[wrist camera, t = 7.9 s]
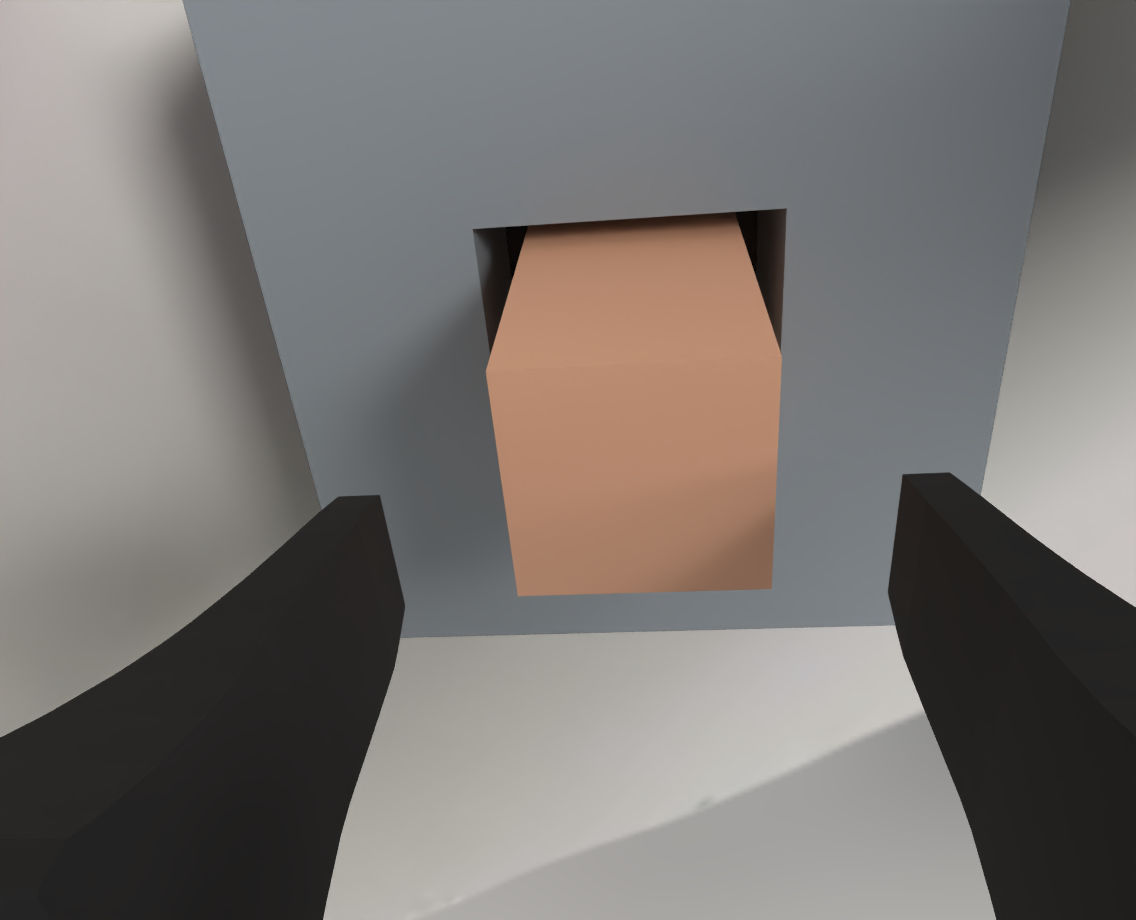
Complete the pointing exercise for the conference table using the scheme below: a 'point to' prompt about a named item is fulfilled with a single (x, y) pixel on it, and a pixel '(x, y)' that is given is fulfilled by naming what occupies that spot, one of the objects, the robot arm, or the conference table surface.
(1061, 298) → the conference table surface
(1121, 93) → the conference table surface
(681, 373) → the peg
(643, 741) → the conference table surface
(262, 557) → the conference table surface
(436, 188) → the socket block
